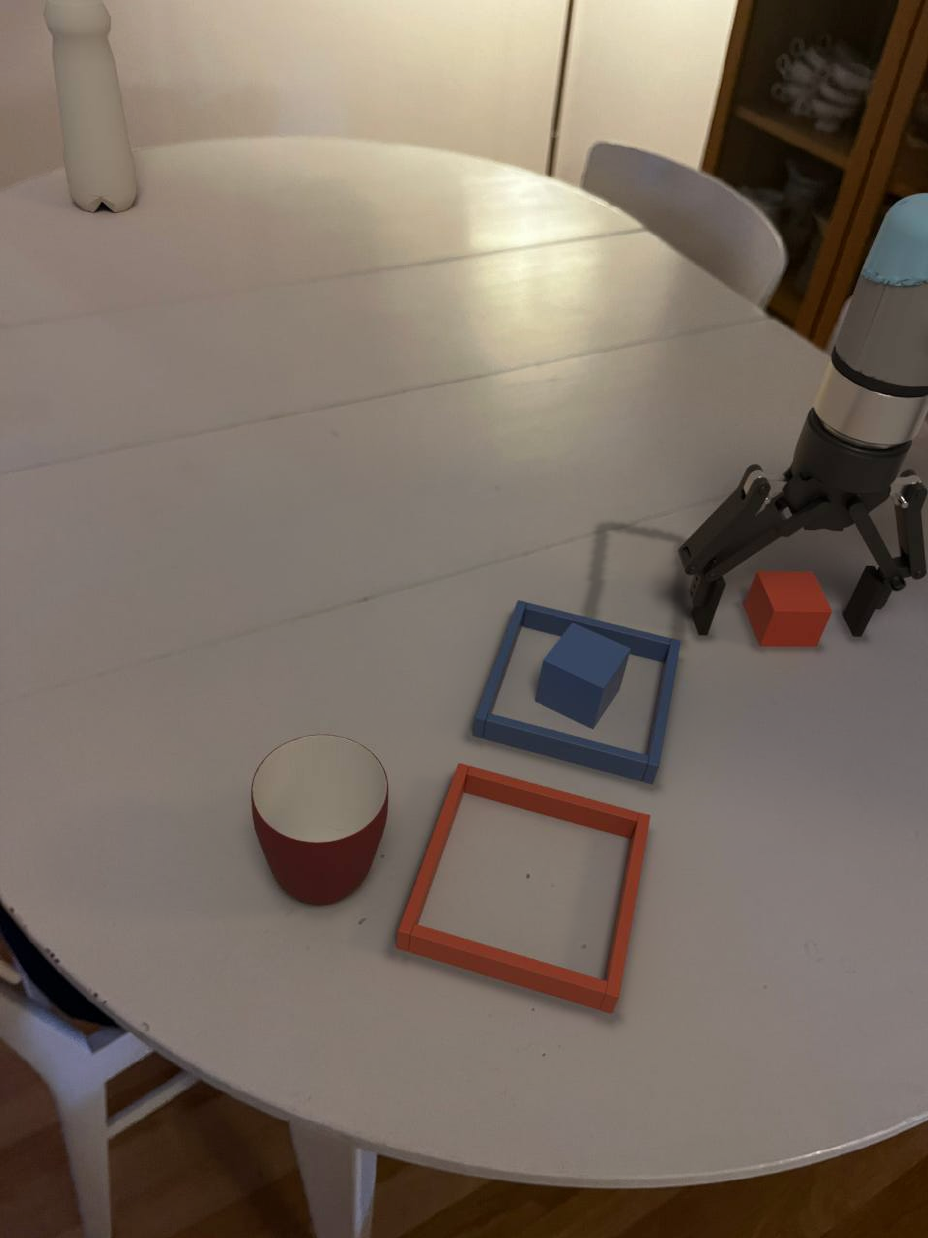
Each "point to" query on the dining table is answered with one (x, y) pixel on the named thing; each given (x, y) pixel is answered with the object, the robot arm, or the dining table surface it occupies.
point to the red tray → (504, 962)
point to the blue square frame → (567, 744)
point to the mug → (320, 815)
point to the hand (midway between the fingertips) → (773, 631)
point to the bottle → (90, 106)
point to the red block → (787, 609)
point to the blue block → (582, 675)
